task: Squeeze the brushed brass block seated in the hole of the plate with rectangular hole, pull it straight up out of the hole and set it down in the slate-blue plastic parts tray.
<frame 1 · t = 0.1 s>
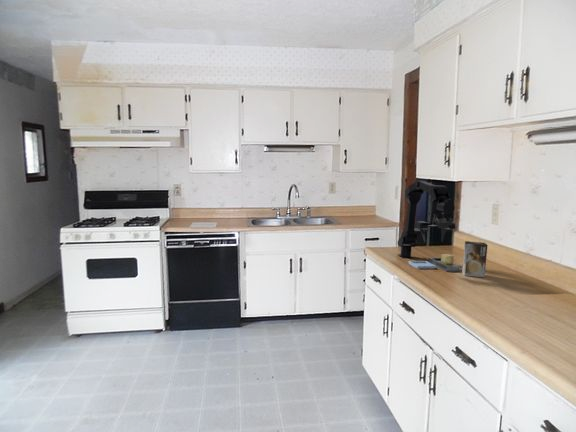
hand: (433, 242, 194), 15 cm above the counter, fingers open, 9 cm apart
brushed brass block: (446, 268, 202), resting in plate with rectangular hole
plate with rectangular hole: (443, 266, 205), on the counter
coffee box: (472, 275, 192), on the counter
tray: (421, 266, 204), on the counter
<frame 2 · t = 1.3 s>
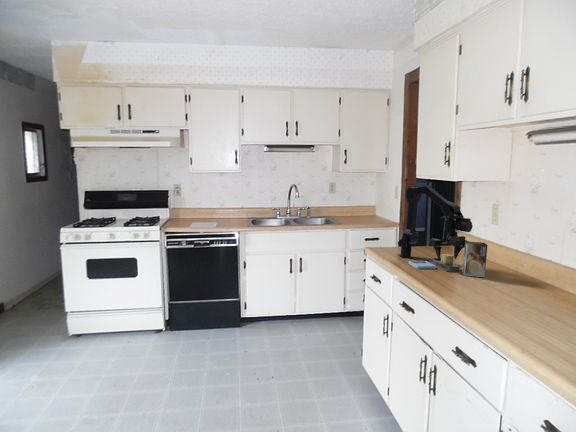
hand: (447, 258, 202), 5 cm above the counter, fingers open, 9 cm apart
nothing on the counter moved.
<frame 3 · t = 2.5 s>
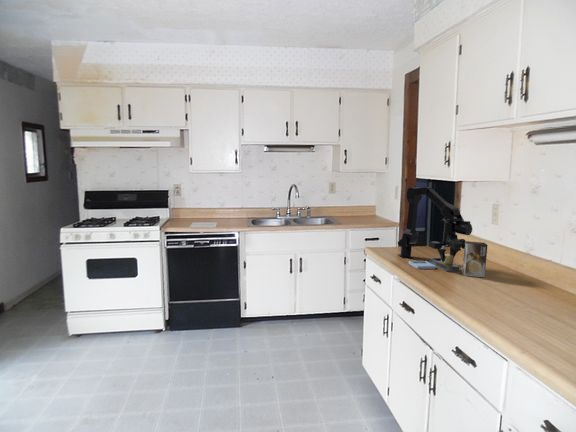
hand: (446, 261, 202), 4 cm above the counter, fingers closed on brushed brass block, 4 cm apart
brushed brass block: (446, 268, 202), resting in plate with rectangular hole, touching gripper
everything else where it was.
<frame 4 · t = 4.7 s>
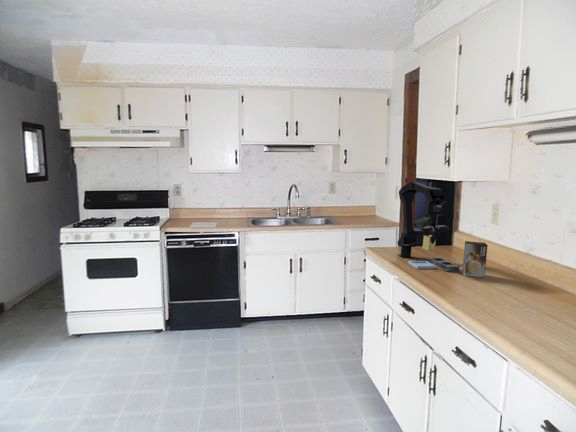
hand: (429, 242, 202), 13 cm above the counter, fingers closed on brushed brass block, 4 cm apart
brushed brass block: (428, 249, 203), point 9 cm above the counter, touching gripper
everything else where it was.
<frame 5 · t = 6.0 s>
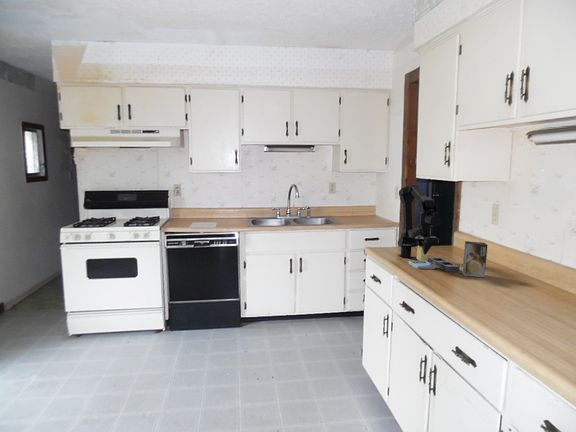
hand: (422, 253, 203), 7 cm above the counter, fingers closed on brushed brass block, 4 cm apart
brushed brass block: (422, 259, 204), point 3 cm above the counter, touching gripper
everything else where it was.
when the fingers open (5 cm above the counter, at t = 7.1 s): brushed brass block drops 1 cm, resting on tray.
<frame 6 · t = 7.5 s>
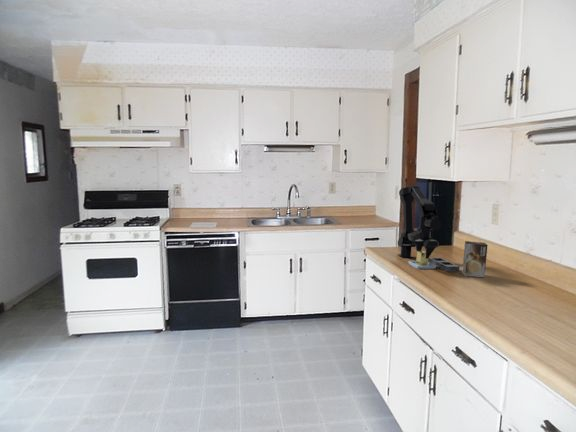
hand: (422, 256, 204), 5 cm above the counter, fingers open, 9 cm apart
brushed brass block: (421, 265, 204), point 1 cm above the counter, touching tray
everything else where it was.
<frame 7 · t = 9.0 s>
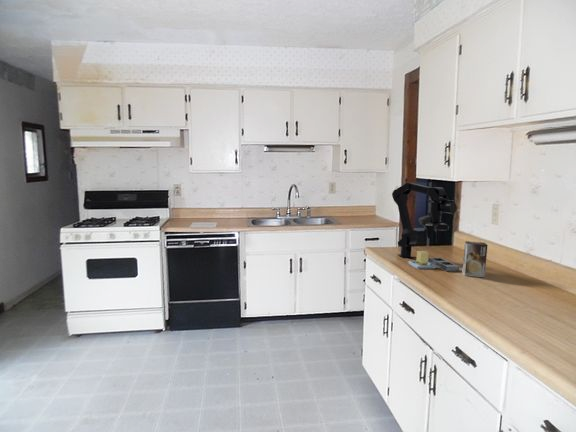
hand: (432, 240, 208), 13 cm above the counter, fingers open, 9 cm apart
nothing on the counter moved.
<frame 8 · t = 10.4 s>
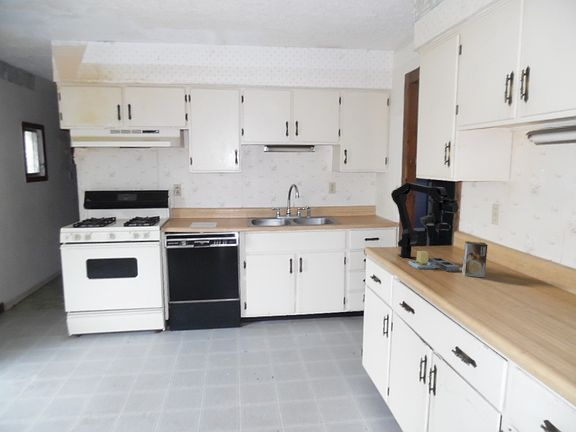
hand: (434, 239, 209), 13 cm above the counter, fingers open, 9 cm apart
nothing on the counter moved.
at the end: brushed brass block inside the target area on the tray (0.0 cm from its centre), point 0.6 cm above the tray's base; brushed brass block tilted 0°; the gripper is holding nothing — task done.
